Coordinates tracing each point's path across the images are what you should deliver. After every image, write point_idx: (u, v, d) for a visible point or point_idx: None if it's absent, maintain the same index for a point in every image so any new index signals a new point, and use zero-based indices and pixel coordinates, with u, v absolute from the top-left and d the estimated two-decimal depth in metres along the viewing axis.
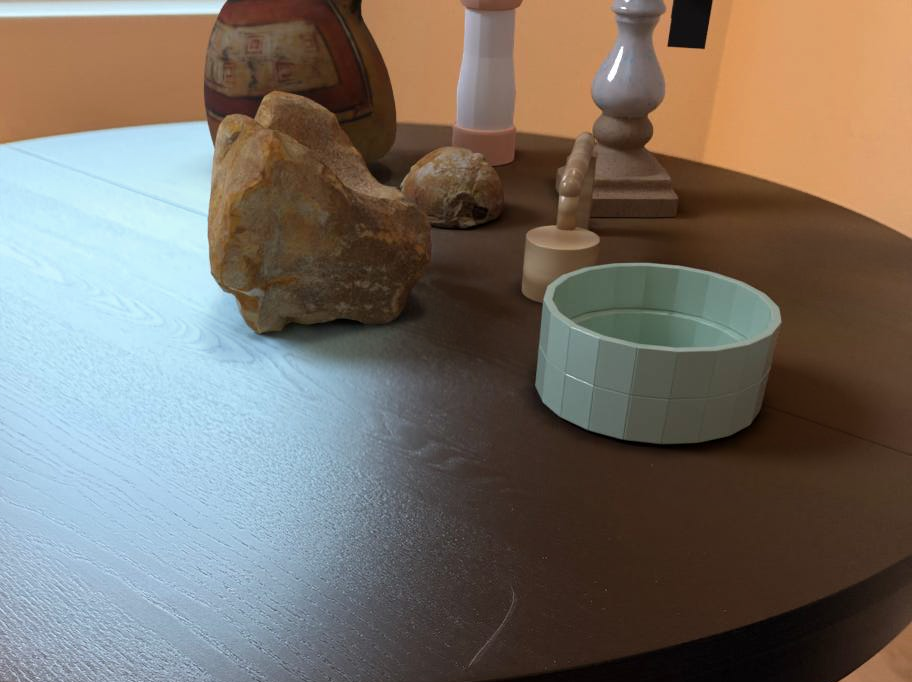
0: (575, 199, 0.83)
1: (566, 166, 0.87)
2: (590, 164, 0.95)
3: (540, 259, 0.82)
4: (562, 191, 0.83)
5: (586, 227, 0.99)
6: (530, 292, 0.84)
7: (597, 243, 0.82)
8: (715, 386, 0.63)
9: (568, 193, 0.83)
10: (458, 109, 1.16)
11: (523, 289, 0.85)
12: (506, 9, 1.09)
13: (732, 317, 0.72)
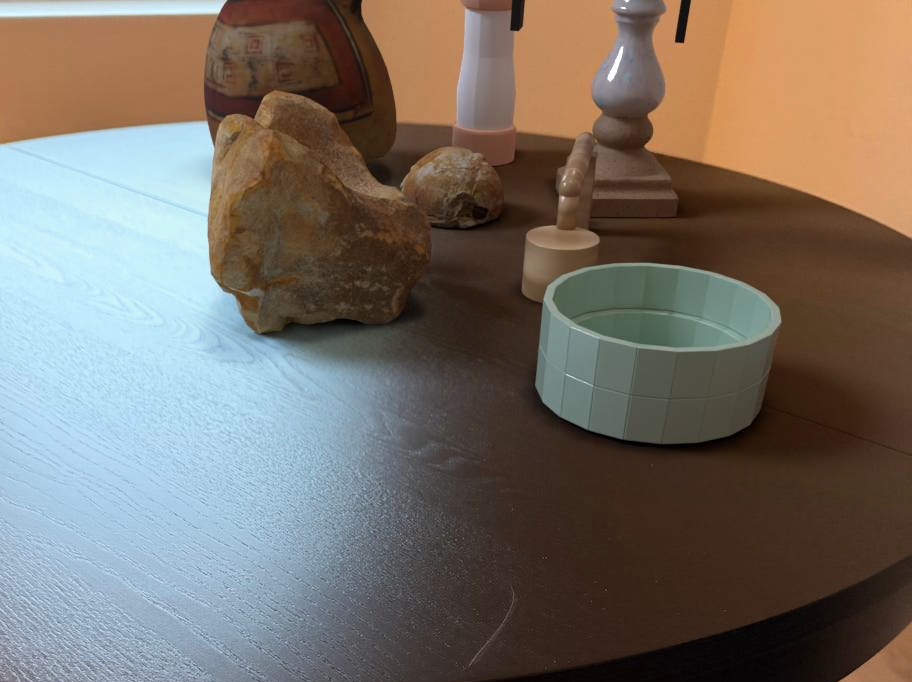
0: (575, 199, 0.83)
1: (566, 166, 0.87)
2: (590, 164, 0.95)
3: (540, 259, 0.82)
4: (562, 191, 0.83)
5: (586, 227, 0.99)
6: (530, 292, 0.84)
7: (597, 243, 0.82)
8: (715, 386, 0.63)
9: (568, 193, 0.83)
10: (458, 109, 1.16)
11: (523, 289, 0.85)
12: (506, 9, 1.09)
13: (732, 317, 0.72)
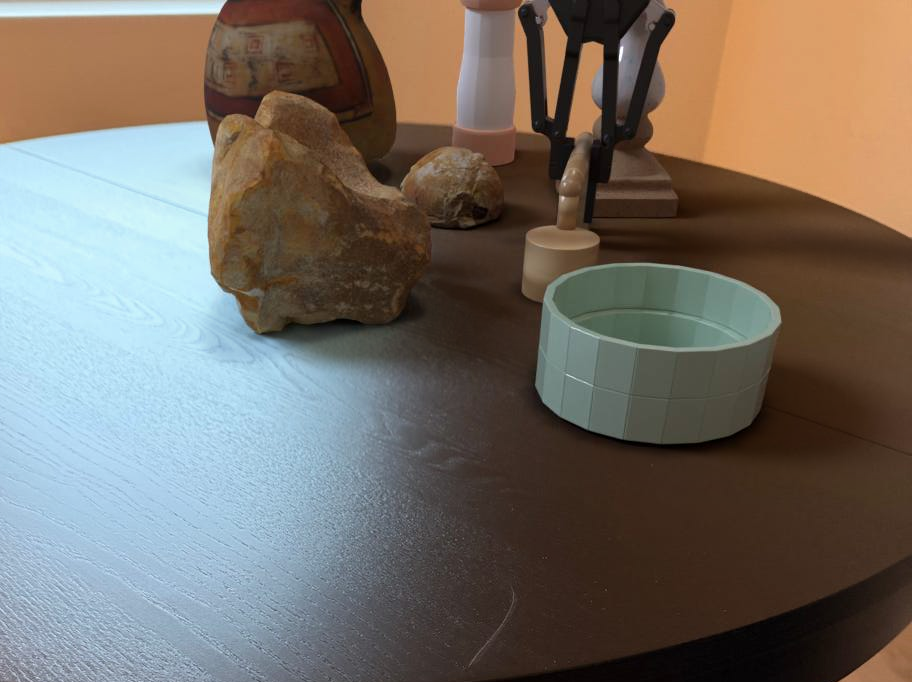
0: (575, 199, 0.83)
1: (566, 166, 0.87)
2: None
3: (540, 259, 0.82)
4: (562, 191, 0.83)
5: (586, 227, 0.99)
6: (530, 292, 0.84)
7: (597, 243, 0.82)
8: (715, 386, 0.63)
9: (568, 193, 0.83)
10: (458, 109, 1.16)
11: (523, 289, 0.85)
12: (506, 9, 1.09)
13: (732, 317, 0.72)
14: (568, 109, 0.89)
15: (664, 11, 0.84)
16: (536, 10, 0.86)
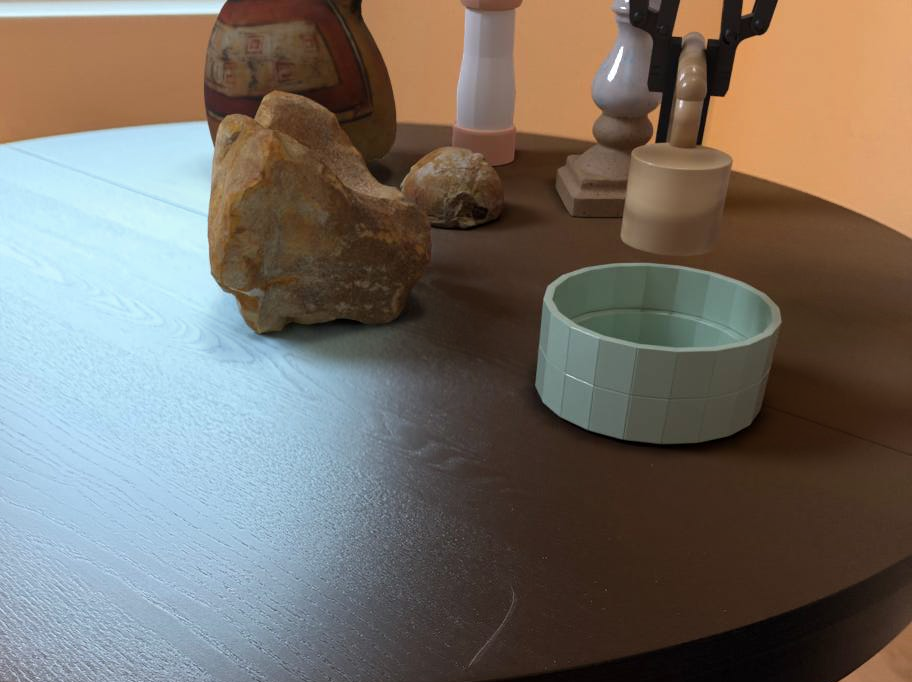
0: (699, 104, 0.62)
1: (680, 66, 0.66)
2: None
3: (654, 183, 0.61)
4: (682, 93, 0.61)
5: None
6: (636, 230, 0.63)
7: (731, 163, 0.61)
8: (715, 386, 0.63)
9: (691, 96, 0.61)
10: (458, 109, 1.16)
11: (625, 228, 0.64)
12: (506, 9, 1.09)
13: (732, 317, 0.72)
14: None
15: None
16: None
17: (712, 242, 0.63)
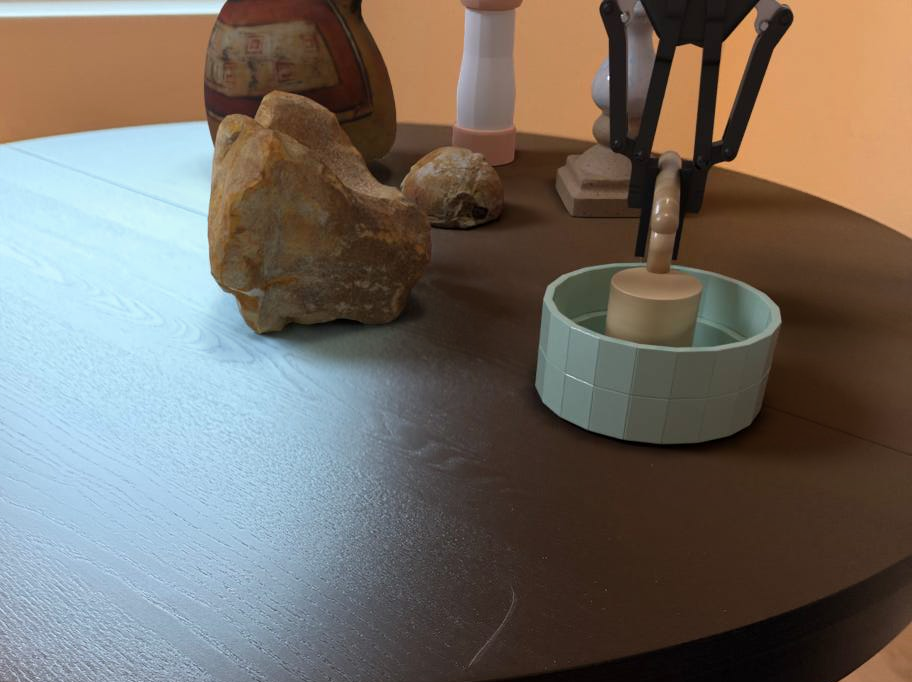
0: (671, 236, 0.68)
1: (655, 194, 0.72)
2: None
3: (631, 310, 0.67)
4: (656, 227, 0.68)
5: None
6: None
7: (701, 291, 0.67)
8: (715, 386, 0.63)
9: (664, 230, 0.68)
10: (458, 109, 1.16)
11: None
12: (507, 9, 1.09)
13: (732, 317, 0.72)
14: (655, 125, 0.74)
15: (779, 7, 0.69)
16: (621, 5, 0.71)
17: None
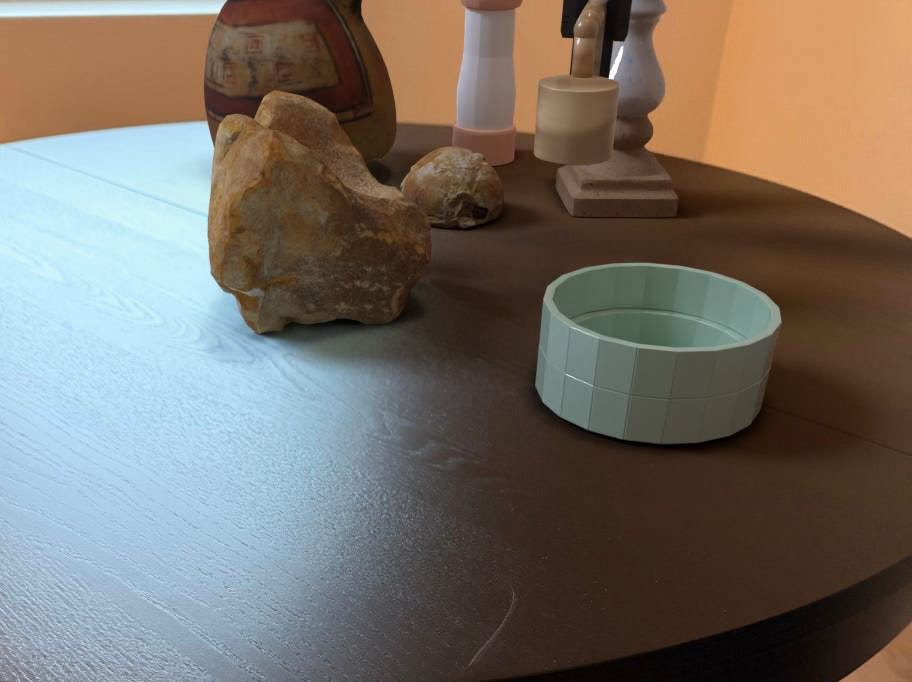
0: (592, 41, 0.76)
1: None
2: None
3: (555, 104, 0.75)
4: (577, 31, 0.76)
5: None
6: (544, 145, 0.77)
7: (617, 87, 0.75)
8: (715, 386, 0.63)
9: (584, 34, 0.76)
10: (458, 109, 1.16)
11: (536, 144, 0.78)
12: (507, 9, 1.09)
13: (732, 317, 0.72)
14: None
15: None
16: None
17: (606, 154, 0.78)
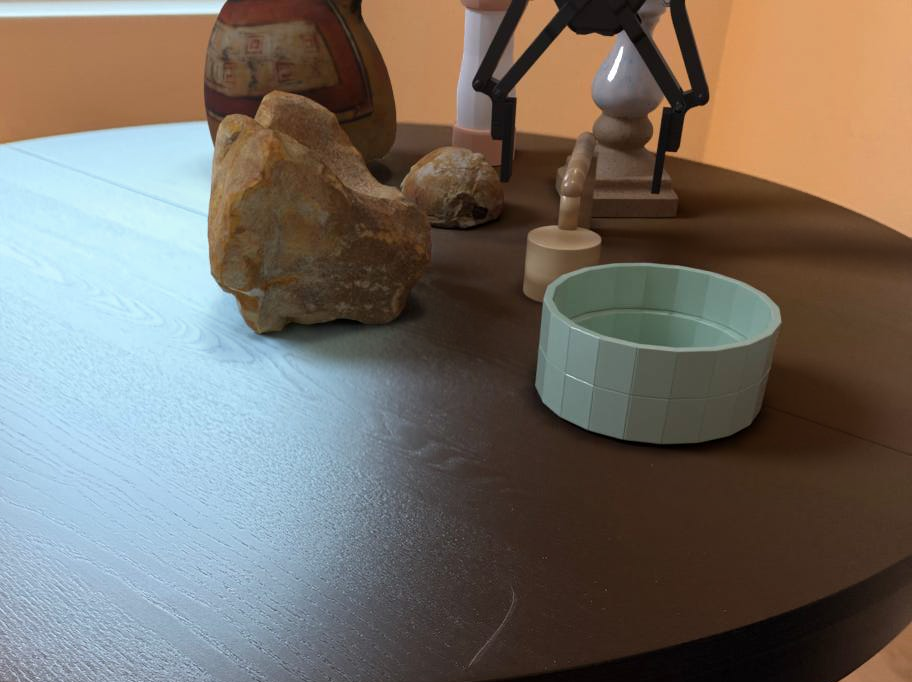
0: (577, 199, 0.83)
1: None
2: (591, 164, 0.95)
3: (542, 259, 0.82)
4: (564, 191, 0.83)
5: (587, 227, 0.99)
6: (532, 292, 0.84)
7: (599, 243, 0.82)
8: (715, 386, 0.63)
9: (570, 193, 0.83)
10: (458, 109, 1.16)
11: (525, 289, 0.85)
12: (507, 9, 1.09)
13: (732, 317, 0.72)
14: (520, 78, 0.88)
15: None
16: None
17: None
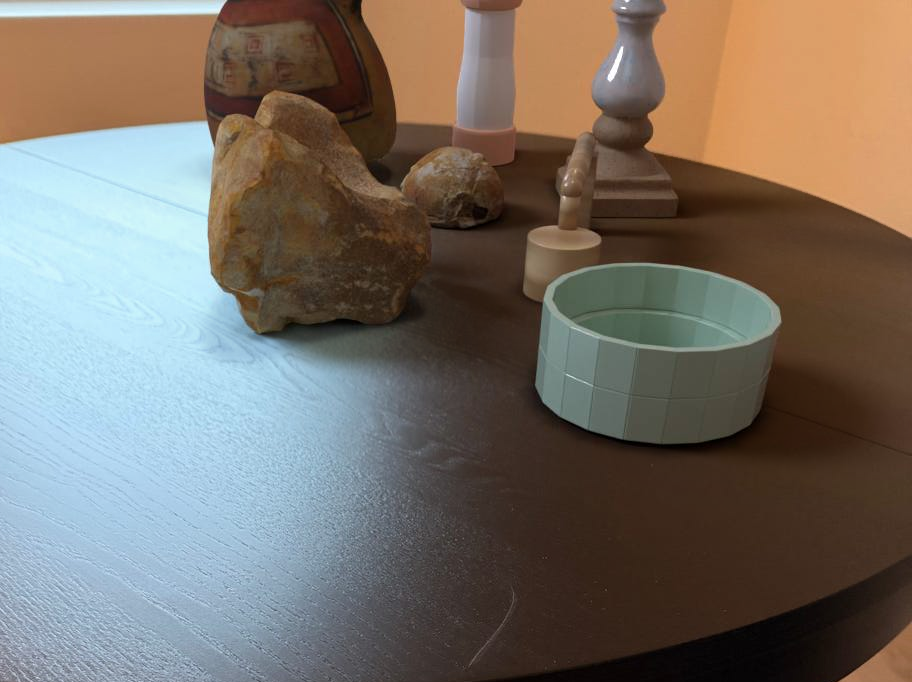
0: (577, 199, 0.83)
1: None
2: (591, 164, 0.95)
3: (542, 259, 0.82)
4: (564, 191, 0.83)
5: (587, 227, 0.99)
6: (532, 292, 0.84)
7: (599, 243, 0.82)
8: (715, 386, 0.63)
9: (570, 193, 0.83)
10: (458, 109, 1.16)
11: (525, 289, 0.85)
12: (507, 9, 1.09)
13: (732, 317, 0.72)
14: None
15: None
16: None
17: None
